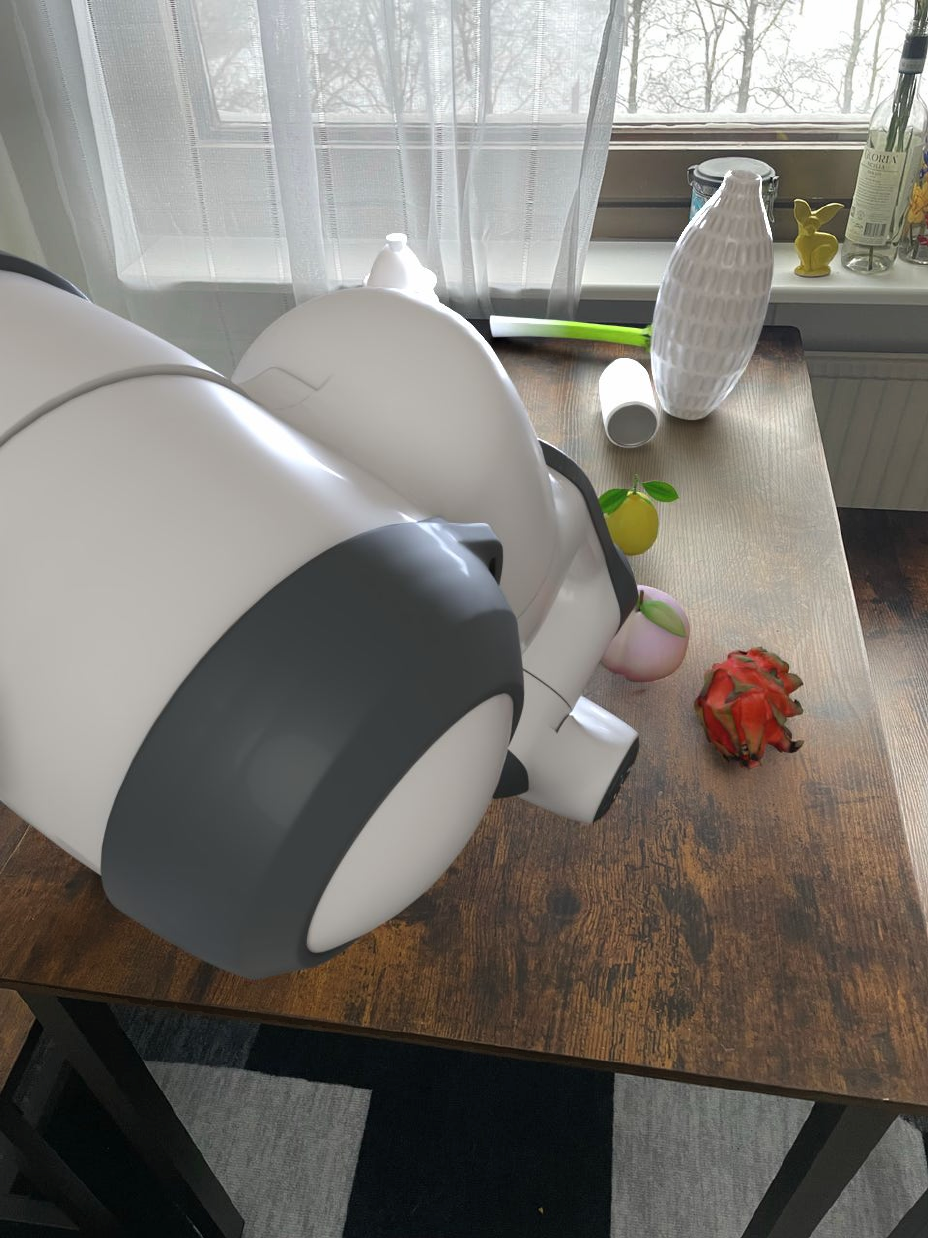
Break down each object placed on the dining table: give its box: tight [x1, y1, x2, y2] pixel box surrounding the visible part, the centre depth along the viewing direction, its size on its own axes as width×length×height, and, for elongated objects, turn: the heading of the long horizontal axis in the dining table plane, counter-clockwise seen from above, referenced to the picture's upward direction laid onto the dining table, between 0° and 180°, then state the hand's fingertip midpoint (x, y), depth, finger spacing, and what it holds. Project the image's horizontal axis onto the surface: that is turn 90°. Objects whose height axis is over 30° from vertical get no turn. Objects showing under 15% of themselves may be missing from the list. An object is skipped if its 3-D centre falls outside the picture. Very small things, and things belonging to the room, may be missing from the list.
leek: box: [489, 315, 653, 355], centre depth 131 cm, size 6×7×30 cm
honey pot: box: [361, 232, 440, 303], centre depth 126 cm, size 13×13×18 cm
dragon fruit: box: [693, 645, 805, 771], centre depth 76 cm, size 8×8×12 cm
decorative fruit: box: [599, 584, 691, 683], centre depth 81 cm, size 9×8×10 cm
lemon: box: [598, 474, 680, 557], centre depth 94 cm, size 7×6×10 cm
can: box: [598, 357, 660, 449], centre depth 114 cm, size 6×6×12 cm
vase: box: [649, 169, 775, 421], centre depth 109 cm, size 13×13×28 cm
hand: (310, 623), depth 78 cm, fingers open, 8 cm apart
